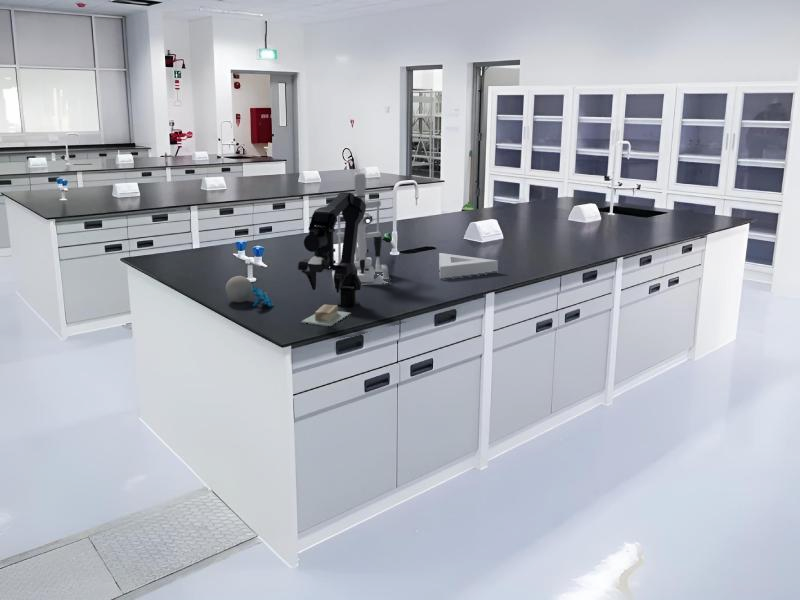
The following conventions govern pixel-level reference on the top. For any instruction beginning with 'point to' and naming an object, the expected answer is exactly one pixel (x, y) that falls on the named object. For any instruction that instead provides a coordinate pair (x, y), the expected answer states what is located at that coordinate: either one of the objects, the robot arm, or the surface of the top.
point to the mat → (326, 323)
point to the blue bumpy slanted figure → (261, 297)
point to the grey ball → (239, 289)
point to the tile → (326, 312)
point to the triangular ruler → (464, 265)
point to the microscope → (360, 260)
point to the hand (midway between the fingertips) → (325, 291)
